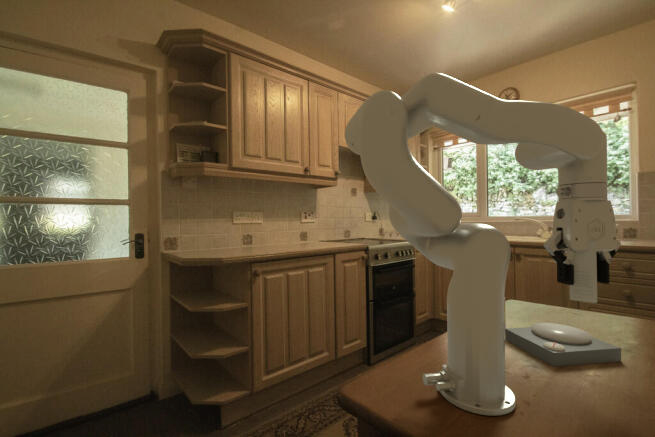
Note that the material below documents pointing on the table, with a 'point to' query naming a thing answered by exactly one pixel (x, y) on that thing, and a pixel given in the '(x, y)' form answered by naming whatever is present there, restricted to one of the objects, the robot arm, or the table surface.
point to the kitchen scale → (562, 344)
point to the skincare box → (585, 275)
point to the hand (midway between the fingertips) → (582, 282)
